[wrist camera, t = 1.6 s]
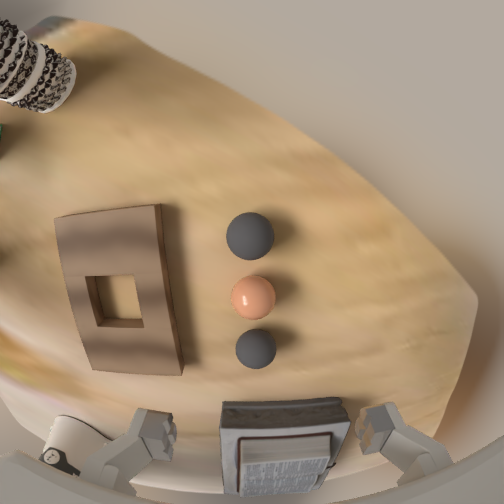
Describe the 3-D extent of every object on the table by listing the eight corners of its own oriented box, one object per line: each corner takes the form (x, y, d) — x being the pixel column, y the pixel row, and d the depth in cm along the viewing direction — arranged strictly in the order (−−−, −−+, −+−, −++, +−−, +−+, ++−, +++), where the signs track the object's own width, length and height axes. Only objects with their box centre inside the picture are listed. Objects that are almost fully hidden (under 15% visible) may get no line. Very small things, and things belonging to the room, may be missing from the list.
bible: (363, 394, 40) (384, 434, 31) (308, 474, 46) (316, 507, 37) (225, 383, 38) (224, 433, 28) (203, 468, 44) (200, 505, 34)
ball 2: (274, 352, 36) (278, 375, 31) (237, 355, 36) (237, 378, 31) (273, 320, 35) (278, 341, 30) (234, 323, 35) (234, 344, 30)
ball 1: (271, 252, 33) (277, 264, 28) (228, 254, 32) (227, 267, 28) (270, 209, 31) (276, 214, 27) (225, 211, 31) (223, 216, 26)
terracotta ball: (273, 306, 34) (278, 326, 30) (233, 309, 34) (232, 329, 29) (272, 268, 33) (278, 283, 28) (229, 271, 33) (228, 286, 28)
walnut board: (184, 365, 36) (181, 375, 34) (98, 360, 36) (92, 369, 33) (160, 203, 31) (154, 205, 28) (64, 215, 30) (53, 218, 28)
